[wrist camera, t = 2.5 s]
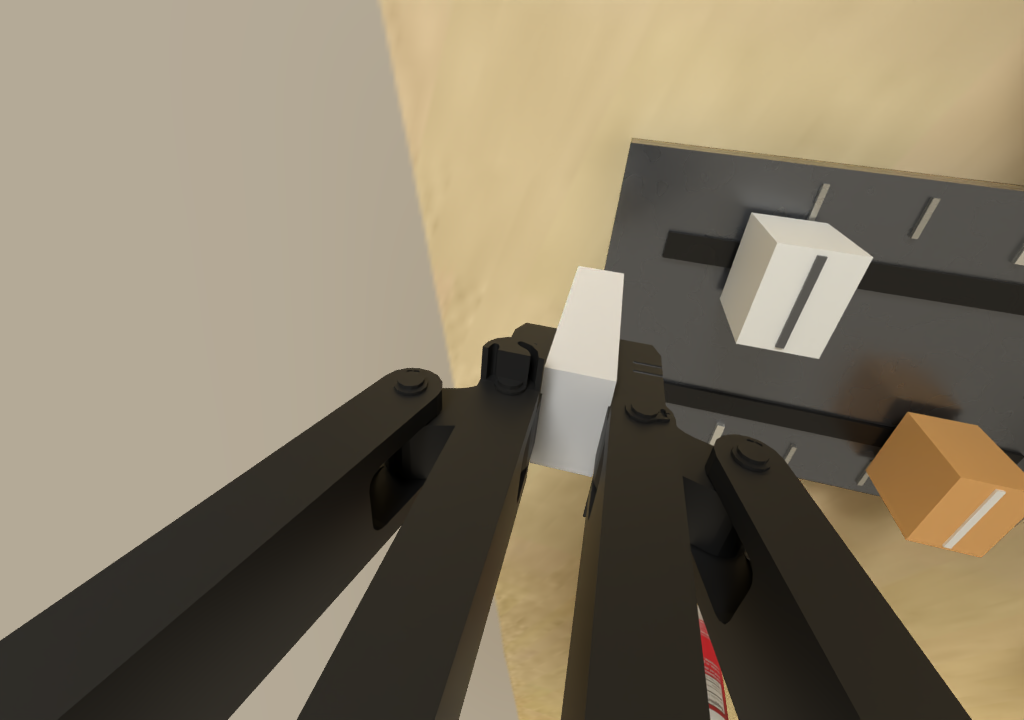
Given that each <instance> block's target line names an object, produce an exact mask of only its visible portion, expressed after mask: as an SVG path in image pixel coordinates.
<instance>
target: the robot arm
mask: <svg viewBox="0 0 1024 720" xmlns="http://www.w3.org/2000/svg"><path fill="white" fill-rule="evenodd" d="M623 282H624V273H618V272H612V271H606V270H600V269H594V268H588V267H582V266H578V269H577V272H576V274H575V277H574V280H573V283H572V286H571V289H570V292H569V295H568V298H567V301H566V304H565V307H564V310H563V313H562V316H561V319H560V322H559V325H558V328H551V327H546V326H541V325H536V324H530V323H525V324H524V325H522V326H520V327H519V328H517V329H515V331H514V333H513V335H512V337H505V338H497V339H494V340H491V341H488V342H487V343H486V344H485V345H484V346H483V351H482V366H481V379H480V381H479V383H478V385H477V386H474V387H469V388H442V381H441V379H440V378H439V376H438V375H436V374H434V373H433V372H431V371H428V370H424V369H420V368H406V369H401V370H396V371H394V372H392V373H390V374H388V375H386V376H384V377H383V378H381V379H380V380H378V381H377V382H375V383H374V384H373V385H371V386H370V387H368V388H367V389H365V390H364V391H362V392H361V393H359V394H358V395H357V396H355V397H354V398H352V399H351V400H349V401H348V402H347V403H345V404H344V405H342V406H341V407H339V408H338V409H336V410H335V411H333V412H332V413H330V414H329V415H328V416H326V417H325V418H323V419H322V420H320V421H319V422H317V423H316V424H314V425H313V426H312V427H310V428H309V429H307V430H306V431H304V432H303V433H301V434H300V435H299V436H297V437H296V438H294V439H293V440H291V441H290V442H288V443H287V444H285V445H284V446H283V447H281V448H280V449H278V450H277V451H275V452H274V453H272V454H271V455H269V456H268V457H267V458H265V459H264V460H262V461H261V462H259V463H258V464H256V465H255V466H254V467H252V468H251V469H249V470H248V471H247V472H245V473H243V474H242V475H240V476H239V477H238V478H236V479H235V480H233V481H232V482H230V483H229V484H227V485H226V486H225V487H223V488H221V489H220V490H219V491H217V492H216V493H214V494H213V495H211V496H210V497H208V498H207V499H206V500H204V501H203V502H201V503H200V504H198V505H197V506H195V507H194V508H192V509H191V510H190V511H188V512H187V513H185V514H184V515H182V516H181V517H179V518H178V519H176V520H175V521H174V522H172V523H171V524H169V525H168V526H166V527H165V528H163V529H162V530H161V531H159V532H158V533H156V534H155V535H153V536H152V537H150V538H149V539H147V540H146V541H144V542H143V543H142V544H140V545H139V546H137V547H136V548H134V549H133V550H132V551H130V552H128V553H127V554H126V555H124V556H123V557H121V558H120V559H118V560H117V561H115V562H114V563H113V564H111V565H110V566H108V567H107V568H105V569H104V570H102V571H101V572H99V573H98V574H97V575H95V576H94V577H92V578H91V579H89V580H88V581H86V582H85V583H84V584H82V585H81V586H79V587H78V588H76V589H75V590H73V591H72V592H70V593H69V594H68V595H66V596H65V597H63V598H62V599H60V600H59V601H57V602H56V603H54V604H53V605H51V606H50V607H49V608H48V609H46V610H44V611H43V612H42V613H40V614H38V615H37V616H36V617H34V618H33V619H31V620H30V621H28V622H27V623H25V624H24V625H22V626H21V627H20V628H18V629H17V630H15V631H14V632H12V633H11V634H10V635H8V636H6V637H5V638H4V639H2V640H1V641H0V720H228V719H229V717H230V716H231V715H232V714H233V713H234V712H235V711H236V710H237V709H238V707H239V706H240V705H241V704H242V703H243V702H244V701H245V699H246V698H247V697H248V696H249V695H250V694H251V693H252V692H253V691H254V689H256V687H257V686H258V685H259V684H260V683H261V682H262V681H263V679H264V678H265V677H266V676H267V675H268V674H269V673H270V672H271V671H272V669H273V668H274V667H275V666H276V665H277V664H278V663H279V662H280V660H281V659H282V658H283V657H284V656H285V655H286V654H287V653H288V652H289V650H290V649H291V648H292V647H293V646H294V645H295V644H296V643H297V642H298V640H299V639H300V638H301V637H302V636H303V635H304V634H305V633H306V631H307V630H308V629H309V628H310V627H311V626H312V625H313V624H314V622H315V621H316V620H317V619H318V618H319V617H320V616H321V615H322V613H323V612H324V611H325V610H326V609H327V608H328V607H329V606H330V605H331V604H332V602H333V601H334V600H335V599H336V598H337V597H338V596H339V594H340V593H341V592H342V591H343V590H344V589H345V588H346V587H347V586H348V584H349V583H350V582H351V581H352V580H353V579H354V578H355V577H356V576H357V574H358V573H359V572H360V571H361V570H362V569H363V568H364V566H365V565H366V564H367V563H368V562H369V561H370V560H371V559H372V558H373V557H374V555H375V554H376V553H377V552H378V551H379V550H380V548H382V546H383V545H384V544H385V543H386V542H387V541H388V540H389V539H390V537H391V536H392V535H393V534H394V533H395V532H396V531H397V529H399V527H400V526H401V525H402V526H401V528H400V529H399V531H398V533H397V535H396V537H395V539H394V541H393V542H392V544H391V546H390V548H389V550H388V552H387V554H386V555H385V557H384V559H383V561H382V563H381V565H380V566H379V568H378V570H377V572H376V574H375V576H374V578H373V580H372V581H371V583H370V585H369V587H368V589H367V591H366V592H365V594H364V596H363V598H362V600H361V602H360V604H359V605H358V608H357V609H356V611H355V613H354V615H353V617H352V618H351V620H350V622H349V624H348V626H347V628H346V630H345V631H344V633H343V635H342V637H341V639H340V641H339V643H338V644H337V646H336V648H335V650H334V652H333V654H332V656H331V657H330V659H329V661H328V663H327V665H326V667H325V668H324V671H323V672H322V674H321V676H320V678H319V680H318V681H317V683H316V685H315V687H314V689H313V691H312V692H311V694H310V696H309V698H308V700H307V702H306V704H305V706H304V707H303V709H302V711H301V713H300V715H299V717H298V719H297V720H459V716H460V713H461V709H462V706H463V702H464V699H465V695H466V691H467V688H468V684H469V681H470V677H471V674H472V670H473V667H474V663H475V659H476V656H477V652H478V649H479V645H480V641H481V638H482V635H483V631H484V627H485V624H486V620H487V617H488V613H489V610H490V606H491V603H492V599H493V596H494V592H495V589H496V585H497V581H498V578H499V574H500V571H501V567H502V564H503V560H504V557H505V553H506V549H507V546H508V542H509V539H510V535H511V532H512V528H513V525H514V521H515V518H516V514H517V510H518V507H519V503H520V500H521V496H522V493H523V489H524V486H525V482H526V478H527V472H528V465H529V461H530V463H534V464H538V465H543V466H547V467H551V468H555V469H560V470H564V471H568V472H572V473H576V474H581V475H585V476H589V477H592V475H593V479H592V483H591V487H590V491H589V495H588V499H587V502H586V506H585V510H584V514H583V517H586V520H585V528H584V536H583V544H582V553H581V561H580V569H579V577H578V585H577V593H576V601H575V609H574V617H573V625H572V634H571V642H570V650H569V658H568V666H567V674H566V682H565V690H564V698H563V706H562V715H561V720H710V711H709V703H708V694H707V685H706V677H705V668H704V659H703V651H702V642H701V633H700V625H699V616H698V607H699V610H700V612H701V615H702V618H703V621H704V624H705V626H706V629H707V632H708V635H709V638H710V640H711V643H712V646H713V649H714V652H715V654H716V657H717V660H718V663H719V666H720V668H721V671H722V674H723V677H724V680H725V682H726V685H727V688H728V691H729V694H730V696H731V699H732V702H733V705H734V708H735V710H736V713H737V716H738V719H739V720H972V719H971V718H970V716H969V715H968V714H967V712H966V711H965V709H964V708H963V707H962V705H961V704H960V703H959V701H958V700H957V698H956V697H955V696H954V694H953V693H952V691H951V690H950V689H949V687H948V686H947V685H946V683H945V682H944V680H943V679H942V678H941V676H940V675H939V673H938V672H937V671H936V669H935V668H934V666H933V665H932V664H931V662H930V661H929V660H928V658H927V657H926V655H925V654H924V653H923V651H922V650H921V648H920V647H919V646H918V644H917V643H916V642H915V640H914V639H913V637H912V636H911V635H910V633H909V632H908V630H907V629H906V628H905V626H904V625H903V624H902V622H901V621H900V619H899V618H898V617H897V615H896V614H895V612H894V611H893V610H892V608H891V607H890V605H889V604H888V603H887V601H886V600H885V599H884V597H883V596H882V594H881V593H880V592H879V590H878V589H877V587H876V586H875V585H874V583H873V582H872V581H871V579H870V578H869V576H868V575H867V574H866V572H865V571H864V569H863V568H862V567H861V565H860V564H859V562H858V561H857V560H856V558H855V557H854V556H853V554H852V553H851V551H850V550H849V549H848V547H847V546H846V544H845V543H844V542H843V540H842V539H841V538H840V536H839V535H838V533H837V532H836V531H835V529H834V528H833V526H832V525H831V524H830V522H829V521H828V520H827V518H826V517H825V515H824V514H823V513H822V511H821V510H820V508H819V507H818V506H817V504H816V503H815V501H814V500H813V499H812V497H811V496H810V495H809V493H808V492H807V490H806V489H805V488H804V486H803V485H802V483H801V482H800V481H799V479H798V478H797V477H796V475H795V474H794V472H793V471H792V470H791V468H790V467H789V465H788V464H787V463H786V461H785V460H784V459H783V458H782V457H781V456H780V455H779V454H778V453H777V452H776V451H775V450H774V449H772V448H771V447H769V446H768V445H766V444H765V443H763V442H761V441H759V440H757V439H754V438H751V437H748V436H743V435H737V434H731V435H723V436H721V437H720V438H718V439H716V442H715V444H714V446H713V445H711V444H708V443H706V442H704V441H701V440H699V439H697V438H694V437H692V436H691V435H689V434H687V433H685V432H684V431H682V430H681V429H679V428H678V427H677V425H676V419H675V417H674V414H673V412H672V411H671V410H670V409H669V408H668V407H667V406H666V404H665V393H664V382H663V378H662V377H663V372H662V361H661V355H660V354H659V353H658V352H657V350H656V349H655V348H654V347H653V345H648V344H643V343H638V342H633V341H627V340H622V339H620V325H621V311H622V297H623ZM530 457H531V458H530ZM593 471H594V474H593ZM697 604H698V607H697Z"/></svg>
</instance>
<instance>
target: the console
mask: <svg viewBox="0 0 1024 720" xmlns="http://www.w3.org/2000/svg"><path fill="white" fill-rule="evenodd" d="M751 212H752V213H759V214H766V215H773V216H780V217H787V218H794V219H801V220H808V221H815V222H822V223H828V224H830V225H831V226H832V227H834V228H835V229H836V230H838V231H839V232H840V233H842V234H843V235H844V236H846V237H847V238H848V239H850V240H851V241H852V242H854V243H855V244H856V245H858V246H859V247H860V248H862V249H863V250H864V251H866V252H867V253H868V254H870V255H871V256H872V257H873V259H872V261H871V263H870V264H869V266H868V268H867V270H866V272H865V274H864V276H863V277H862V279H861V281H860V283H859V285H858V287H857V289H856V291H855V292H854V294H853V296H852V298H851V300H850V302H849V304H848V305H847V307H846V309H845V311H844V313H843V315H842V317H841V319H840V320H839V322H838V324H837V326H836V328H835V330H834V332H833V333H832V335H831V337H830V339H829V341H828V343H827V345H826V347H825V348H824V350H823V352H822V354H821V356H820V358H819V359H817V358H811V357H806V356H800V355H795V354H790V353H784V352H779V351H774V350H768V349H763V348H757V347H752V346H747V345H741V344H736V342H735V339H734V337H733V334H732V331H731V328H730V326H729V323H728V320H727V317H726V315H725V312H724V309H723V306H722V304H721V301H720V297H721V294H722V292H723V289H724V286H725V283H726V281H727V278H728V275H729V272H730V270H731V267H732V264H733V261H734V259H735V256H736V253H737V251H738V248H739V245H740V242H741V240H742V237H743V234H744V231H745V229H746V226H747V223H748V220H749V218H750V215H751ZM604 270H606V271H612V272H618V273H624V282H623V297H622V311H621V325H620V339H622V340H627V341H633V342H638V343H643V344H648V345H653V347H654V348H655V349H656V350H657V352H658V353H659V354H660V355H661V361H662V372H663V377H662V378H663V382H664V393H665V404H666V406H667V407H668V408H669V409H670V410H671V411H672V412H673V414H674V417H675V419H676V425H677V427H678V428H679V429H681V430H682V431H684V432H685V433H687V434H689V435H691V436H692V437H694V438H697V439H699V440H701V441H704V442H706V443H708V444H711V445H713V446H714V444H715V442H716V439H718V438H720V437H721V436H723V435H731V434H737V435H743V436H748V437H751V438H754V439H757V440H759V441H761V442H763V443H765V444H766V445H768V446H769V447H771V448H772V449H774V450H775V451H776V452H777V453H778V454H779V455H780V456H781V457H782V458H783V459H784V460H785V461H786V463H787V464H788V465H789V467H790V468H791V470H792V471H793V472H794V474H795V475H796V477H797V478H801V479H805V480H810V481H814V482H819V483H823V484H828V485H832V486H836V487H841V488H845V489H850V490H854V491H859V492H863V493H868V494H872V495H876V496H880V494H879V493H878V491H877V489H876V487H875V486H874V484H873V482H872V481H871V479H870V477H869V475H868V474H867V472H866V469H867V468H868V466H869V465H870V464H871V462H872V461H873V459H874V458H875V457H876V455H877V454H878V452H879V451H880V450H881V448H882V447H883V445H884V444H885V443H886V441H887V440H888V438H889V437H890V436H891V434H892V433H893V431H894V430H895V429H896V427H897V426H898V424H899V423H900V422H901V420H902V419H903V417H904V416H905V415H906V413H907V412H912V413H917V414H922V415H927V416H932V417H937V418H942V419H948V420H953V421H958V422H963V423H968V424H973V425H978V426H979V427H980V428H981V429H982V430H983V431H984V432H985V433H986V434H987V435H988V436H989V437H990V438H991V439H992V440H993V441H994V443H995V444H996V445H997V446H998V447H999V448H1000V449H1001V450H1002V451H1003V452H1004V453H1005V454H1006V455H1007V456H1008V457H1009V458H1010V459H1011V460H1012V461H1013V462H1014V463H1015V464H1016V465H1017V466H1018V467H1019V468H1020V469H1021V470H1022V471H1023V472H1024V186H1020V185H1012V184H1004V183H995V182H987V181H979V180H971V179H963V178H955V177H946V176H938V175H930V174H922V173H914V172H906V171H898V170H889V169H881V168H873V167H865V166H857V165H849V164H840V163H832V162H824V161H816V160H808V159H800V158H791V157H783V156H775V155H767V154H759V153H751V152H742V151H734V150H726V149H718V148H710V147H702V146H693V145H685V144H677V143H669V142H661V141H653V140H645V139H636V138H632V139H631V144H630V149H629V154H628V159H627V163H626V168H625V173H624V178H623V183H622V188H621V192H620V197H619V202H618V207H617V212H616V216H615V221H614V226H613V231H612V236H611V241H610V245H609V250H608V255H607V260H606V265H605V269H604ZM1023 519H1024V518H1023ZM1023 519H1022V520H1023ZM1022 520H1021V521H1022ZM1021 521H1020V522H1021ZM1017 524H1018V523H1017ZM1017 524H1016V525H1017ZM1016 525H1015V526H1016ZM1015 526H1014V527H1015Z"/></svg>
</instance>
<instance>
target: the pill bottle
mask: <svg viewBox="0 0 1024 720" xmlns="http://www.w3.org/2000/svg"><path fill="white" fill-rule="evenodd" d="M697 607H698V605H697ZM698 616H699V625H700V633H701V642H702V651H703V659H704V668H705V677H706V685H707V694H708V703H709V711H710V720H728V713H727V706H726V699H725V692H724V685H723V677H722V671H721V668H720V666H719V663H718V660H717V657H716V654H715V652H714V649H713V646H712V643H711V640H710V638H709V635H708V632H707V629H706V626H705V624H704V621H703V618H702V615H701V612H700V610H699V607H698Z"/></svg>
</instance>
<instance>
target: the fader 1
mask: <svg viewBox="0 0 1024 720" xmlns="http://www.w3.org/2000/svg"><path fill="white" fill-rule="evenodd" d="M872 259H873V257H872V256H871V255H870V254H868V253H867V252H866V251H864V250H863V249H862V248H860V247H859V246H858V245H856V244H855V243H854V242H852V241H851V240H850V239H848V238H847V237H846V236H844V235H843V234H842V233H840V232H839V231H838V230H836V229H835V228H834V227H832V226H831V225H830V224H828V223H822V222H815V221H808V220H801V219H794V218H787V217H780V216H773V215H766V214H759V213H752V212H751V215H750V218H749V220H748V223H747V226H746V229H745V231H744V234H743V237H742V240H741V242H740V245H739V248H738V251H737V253H736V256H735V259H734V261H733V264H732V267H731V270H730V272H729V275H728V278H727V281H726V283H725V286H724V289H723V292H722V294H721V297H720V301H721V304H722V306H723V309H724V312H725V315H726V317H727V320H728V323H729V326H730V328H731V331H732V334H733V337H734V339H735V342H736V344H741V345H747V346H752V347H757V348H763V349H768V350H774V351H779V352H784V353H790V354H795V355H800V356H806V357H811V358H817V359H819V358H820V356H821V354H822V352H823V350H824V348H825V347H826V345H827V343H828V341H829V339H830V337H831V335H832V333H833V332H834V330H835V328H836V326H837V324H838V322H839V320H840V319H841V317H842V315H843V313H844V311H845V309H846V307H847V305H848V304H849V302H850V300H851V298H852V296H853V294H854V292H855V291H856V289H857V287H858V285H859V283H860V281H861V279H862V277H863V276H864V274H865V272H866V270H867V268H868V266H869V264H870V263H871V261H872Z"/></svg>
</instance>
